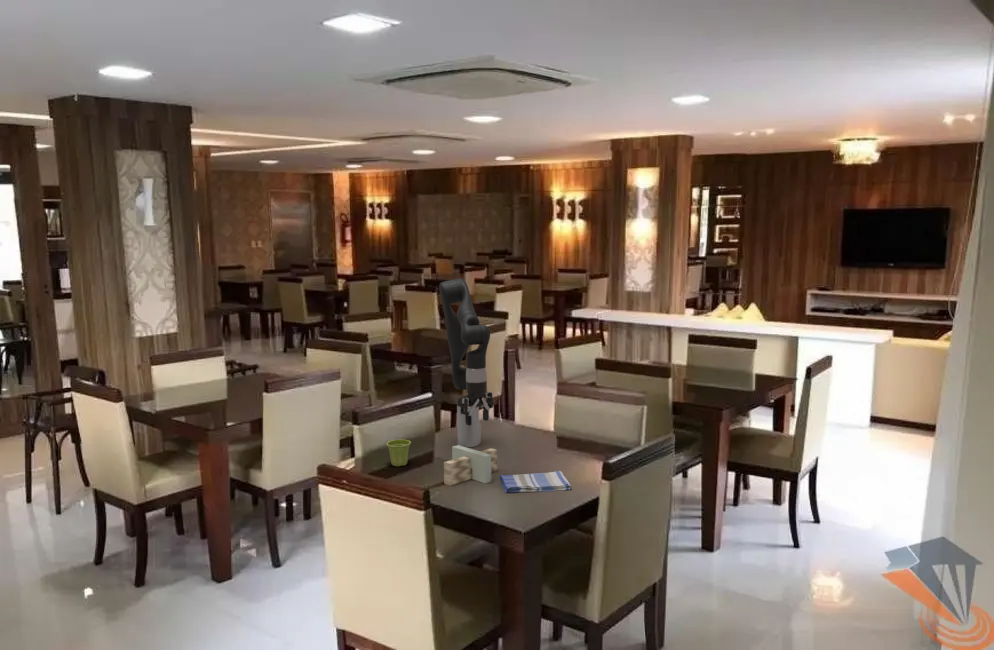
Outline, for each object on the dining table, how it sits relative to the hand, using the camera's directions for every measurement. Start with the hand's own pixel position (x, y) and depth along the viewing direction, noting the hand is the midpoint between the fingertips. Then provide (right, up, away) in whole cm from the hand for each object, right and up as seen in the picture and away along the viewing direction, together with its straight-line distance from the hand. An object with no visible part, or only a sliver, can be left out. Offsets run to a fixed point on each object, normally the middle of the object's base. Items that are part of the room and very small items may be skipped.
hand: (477, 422), depth 268 cm
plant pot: (-31, -19, +19) cm, 41 cm away
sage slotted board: (-2, -20, +3) cm, 21 cm away
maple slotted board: (-2, -20, +3) cm, 21 cm away
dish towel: (+21, -22, -6) cm, 31 cm away
